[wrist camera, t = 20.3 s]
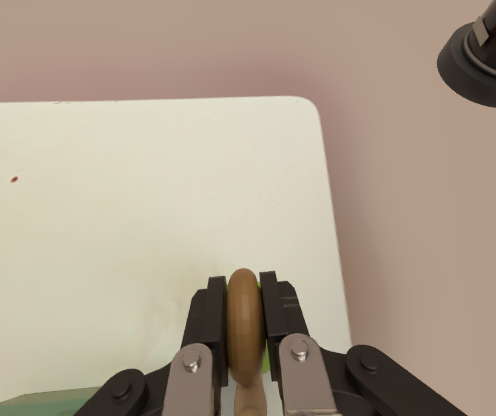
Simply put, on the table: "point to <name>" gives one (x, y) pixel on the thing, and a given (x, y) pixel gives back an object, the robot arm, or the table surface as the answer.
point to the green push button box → (47, 403)
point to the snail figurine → (246, 343)
